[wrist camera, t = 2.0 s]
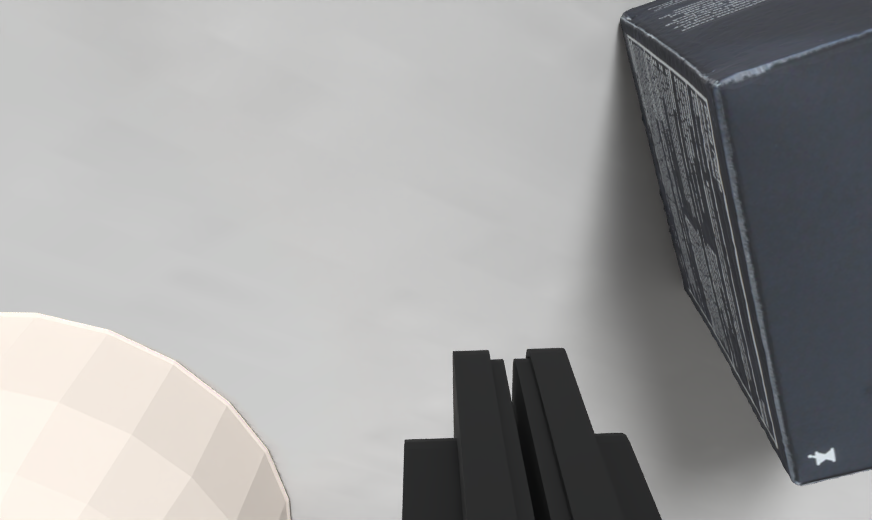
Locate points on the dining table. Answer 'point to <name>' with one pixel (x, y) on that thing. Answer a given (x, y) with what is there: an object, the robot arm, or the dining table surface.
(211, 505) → the kettle
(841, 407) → the small box
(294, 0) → the dining table surface
